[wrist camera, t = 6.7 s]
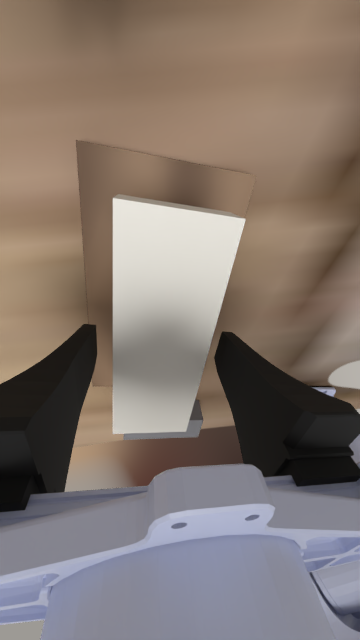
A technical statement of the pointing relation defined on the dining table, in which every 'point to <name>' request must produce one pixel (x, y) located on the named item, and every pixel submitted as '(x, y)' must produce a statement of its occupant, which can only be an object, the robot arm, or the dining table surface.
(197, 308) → the shelf board
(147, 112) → the dining table surface
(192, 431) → the block
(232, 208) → the peg stand
